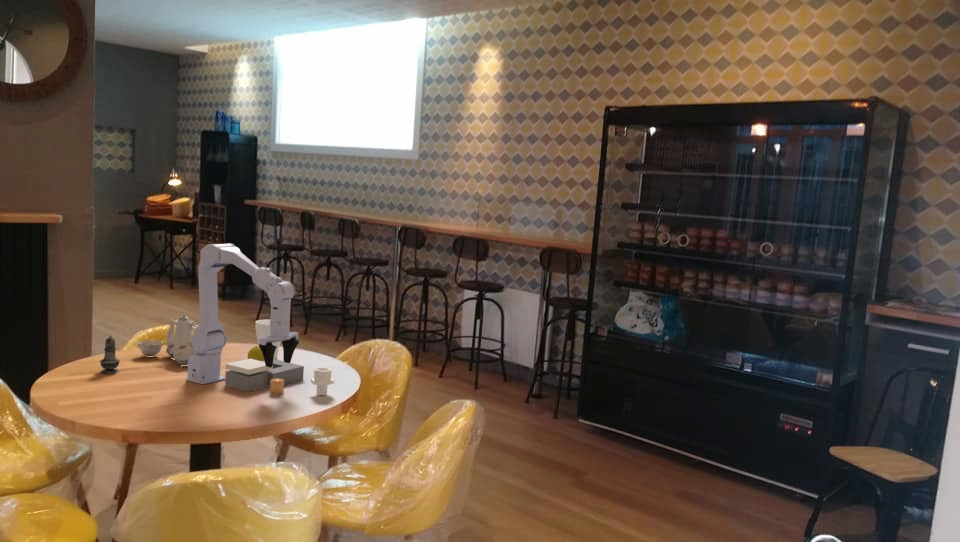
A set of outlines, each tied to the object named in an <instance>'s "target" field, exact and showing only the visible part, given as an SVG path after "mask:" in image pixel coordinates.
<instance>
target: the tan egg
mask: <svg viewBox="0 0 960 542" xmlns="http://www.w3.org/2000/svg"><path fill="white" fill-rule="evenodd" d="M284 389H285V384H284V380H283V379H271V381H270V387H269V394H270V393H271V394H270V395H273V394H274V396H279V394H280V395H283V394H284Z"/></svg>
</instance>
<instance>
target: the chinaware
mask: <svg viewBox="0 0 960 542" xmlns="http://www.w3.org/2000/svg"><path fill="white" fill-rule="evenodd" d="M168 321H169V323H170V324H169V325H170V326H169V328H168V331H167V335H166V339H165V342H166V343H165V342H163V340H152V339H146V340H145V339H144V340H143V341H137V345H138V346H139V350H140V352H141V353H142V354H143V355H145V356H157V355H158V354H159V353H160V352H161V350H162V347H163V345H166V347H167V348H166V351H165V352H166V353H167V355H168V356H169V358H170V357H171V358H174V359H175V360H174V361H175V362H176V363H177V364H178V365H187V364H188V360H189V358H190V357H191V356H192V355H195V354H196V353H195V350H194V349H193V347H192V338H193V336H194V329H195V328H196V327H197V326H198V324H197V325H196V324H194V322H195V320H193V319H190V317H188V316H187V314H186V313H185V312H184V313H182V315H181V316H180V317H179V319H176V320H174V319H173V318H168Z"/></svg>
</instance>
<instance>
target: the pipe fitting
mask: <svg viewBox="0 0 960 542" xmlns="http://www.w3.org/2000/svg"><path fill="white" fill-rule="evenodd" d="M313 370H314V371H313V377H311V378H310V383H311V384H312V385H314V386H315V385H316V390H315V391H316V396H318V395H325V396H327V395H326V394H328V387H329V385H332V384H334V383H335V380H334V379H333V378H332V368H330V367H324V366H323V367H321V366H320V367H316V368H314V369H313Z"/></svg>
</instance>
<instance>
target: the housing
mask: <svg viewBox="0 0 960 542" xmlns="http://www.w3.org/2000/svg"><path fill="white" fill-rule="evenodd" d="M262 362H265V360H264V361H262ZM304 368H305V366H304V365H301V364H296V363H292V362H290V363H286V362H284V360H279V359H273V369H271V370H267V371H262V372H258V373H254V374H250V375H248V374H244V373H240V372H236V371H232V370H226V371H225V376H224V377H225V379H224V383H225V384H224V385H225V386H226V385H227V387H229V386H231V387H230V388H233V387H234V389H237V390H240V389H241V391H244V392H251V390H252V391H256V390H260V389H262V388H263V389H264V388H267V387H268V388H270V381H271V379H283V380H284V385H288V384H290V382H291V383H294V382H299V381H302V379H303V380H304V372H305V371H304ZM298 380H299V381H298ZM259 388H260V389H259ZM255 389H256V390H255Z"/></svg>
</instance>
